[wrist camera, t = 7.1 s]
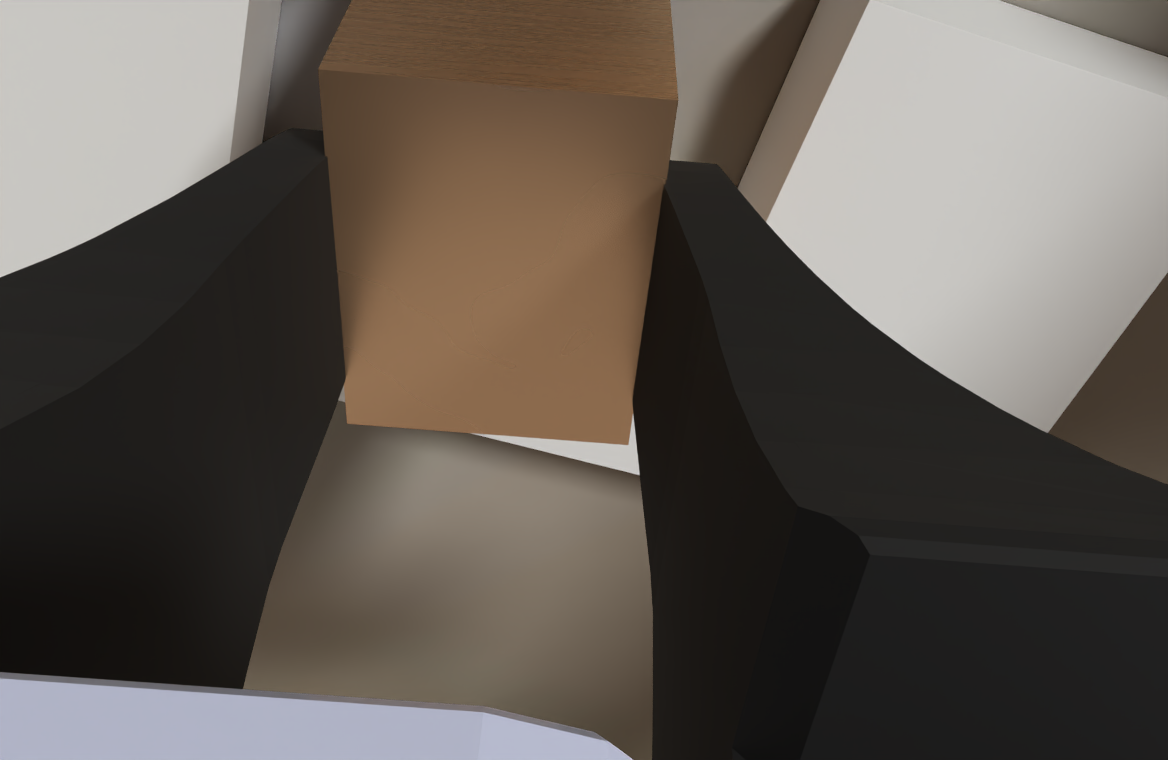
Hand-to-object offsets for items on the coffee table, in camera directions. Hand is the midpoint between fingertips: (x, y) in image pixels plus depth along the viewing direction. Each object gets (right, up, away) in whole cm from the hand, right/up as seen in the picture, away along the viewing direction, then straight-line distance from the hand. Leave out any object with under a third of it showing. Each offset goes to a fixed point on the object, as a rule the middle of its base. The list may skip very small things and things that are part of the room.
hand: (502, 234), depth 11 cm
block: (0, +3, +3) cm, 4 cm away
